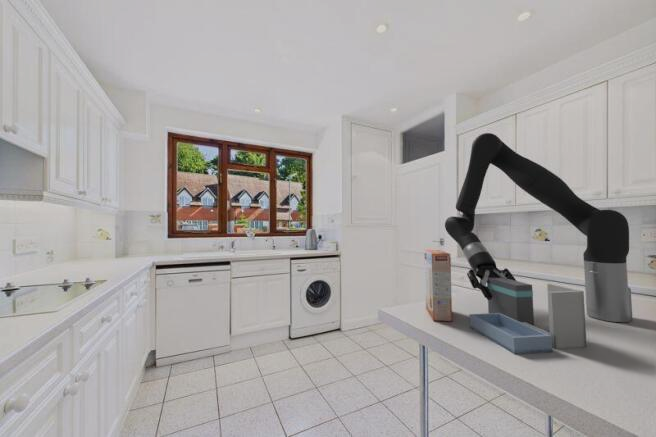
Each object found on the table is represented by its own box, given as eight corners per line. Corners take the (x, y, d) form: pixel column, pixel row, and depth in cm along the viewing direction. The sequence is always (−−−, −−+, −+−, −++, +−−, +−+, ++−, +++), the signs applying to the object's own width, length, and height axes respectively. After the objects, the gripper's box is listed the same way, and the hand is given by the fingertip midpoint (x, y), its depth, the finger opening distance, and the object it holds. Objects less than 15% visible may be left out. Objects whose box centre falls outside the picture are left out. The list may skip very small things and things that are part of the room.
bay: (551, 332, 72) (549, 283, 72) (586, 346, 63) (583, 291, 63) (523, 333, 71) (521, 284, 72) (554, 348, 62) (551, 292, 63)
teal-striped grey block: (503, 313, 87) (501, 277, 88) (534, 327, 75) (532, 284, 76) (488, 314, 87) (486, 277, 87) (517, 328, 75) (515, 285, 75)
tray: (499, 325, 77) (499, 312, 77) (552, 351, 61) (551, 335, 61) (469, 326, 76) (469, 314, 77) (514, 354, 60) (513, 337, 60)
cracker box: (453, 322, 80) (451, 253, 81) (432, 321, 82) (430, 253, 82) (443, 308, 94) (441, 249, 95) (425, 307, 95) (423, 249, 96)
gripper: (463, 251, 92) (487, 292, 81) (502, 250, 94) (531, 290, 82) (455, 264, 98) (476, 305, 86) (492, 263, 99) (518, 303, 87)
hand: (503, 298), depth 84 cm, fingers open, 8 cm apart
